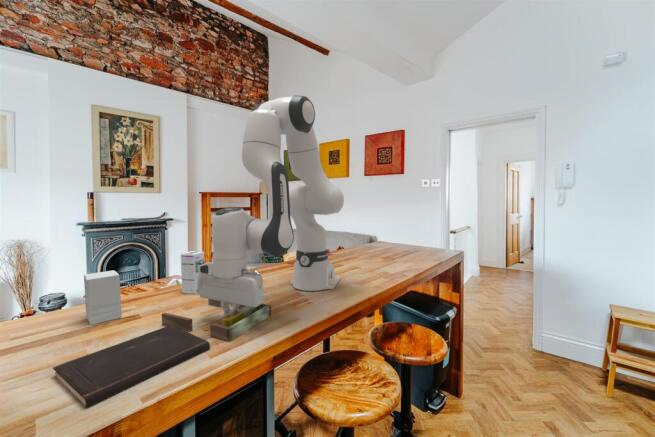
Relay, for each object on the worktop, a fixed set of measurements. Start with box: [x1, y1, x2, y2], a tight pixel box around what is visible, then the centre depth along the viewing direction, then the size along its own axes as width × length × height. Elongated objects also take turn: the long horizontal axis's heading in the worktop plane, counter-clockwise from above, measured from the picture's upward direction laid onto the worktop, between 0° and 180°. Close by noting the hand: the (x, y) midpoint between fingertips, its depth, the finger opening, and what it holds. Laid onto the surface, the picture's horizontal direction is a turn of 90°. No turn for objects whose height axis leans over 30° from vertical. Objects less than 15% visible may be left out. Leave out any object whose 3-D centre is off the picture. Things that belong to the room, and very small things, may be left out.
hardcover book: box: [52, 325, 211, 409], centre depth 62 cm, size 16×23×2 cm
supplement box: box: [83, 270, 123, 326], centre depth 84 cm, size 7×7×13 cm
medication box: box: [221, 306, 257, 327], centre depth 81 cm, size 12×3×4 cm, turn 158°
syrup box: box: [180, 250, 206, 295], centre depth 108 cm, size 6×6×14 cm
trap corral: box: [161, 299, 272, 343], centre depth 86 cm, size 22×23×3 cm
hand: (230, 317), depth 82 cm, fingers closed
